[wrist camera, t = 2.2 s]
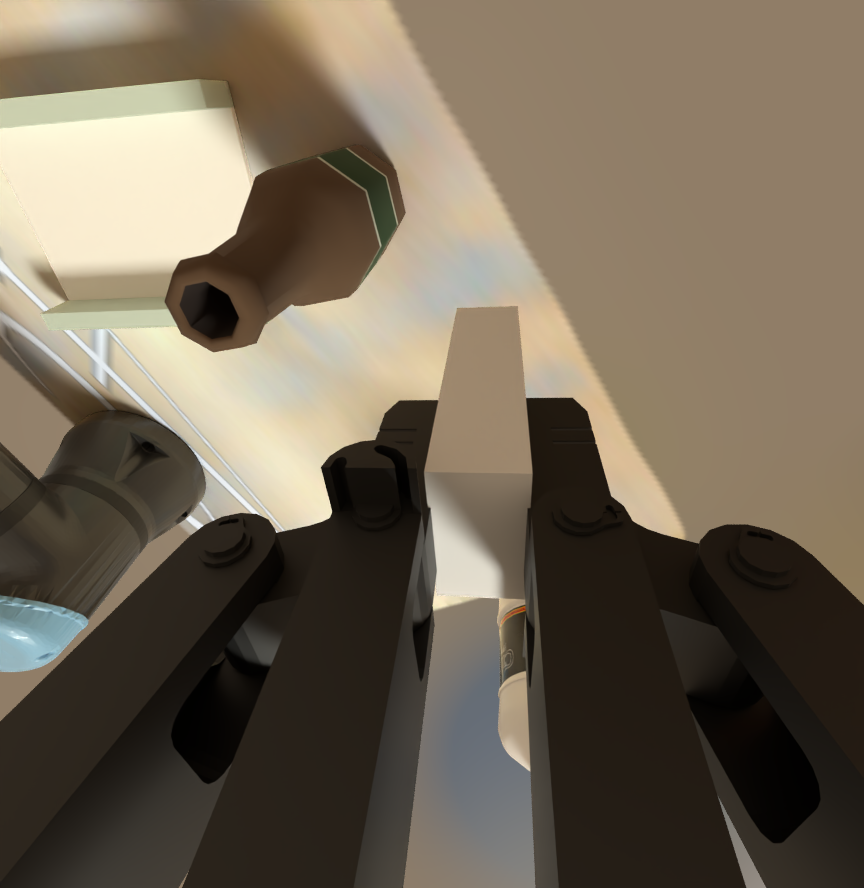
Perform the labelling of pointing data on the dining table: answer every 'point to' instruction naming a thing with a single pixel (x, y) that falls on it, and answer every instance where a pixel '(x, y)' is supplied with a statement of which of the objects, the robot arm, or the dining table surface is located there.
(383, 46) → the dining table surface
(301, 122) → the dining table surface
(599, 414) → the dining table surface
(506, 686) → the vodka
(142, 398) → the dining table surface
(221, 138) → the rest
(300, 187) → the beer bottle
